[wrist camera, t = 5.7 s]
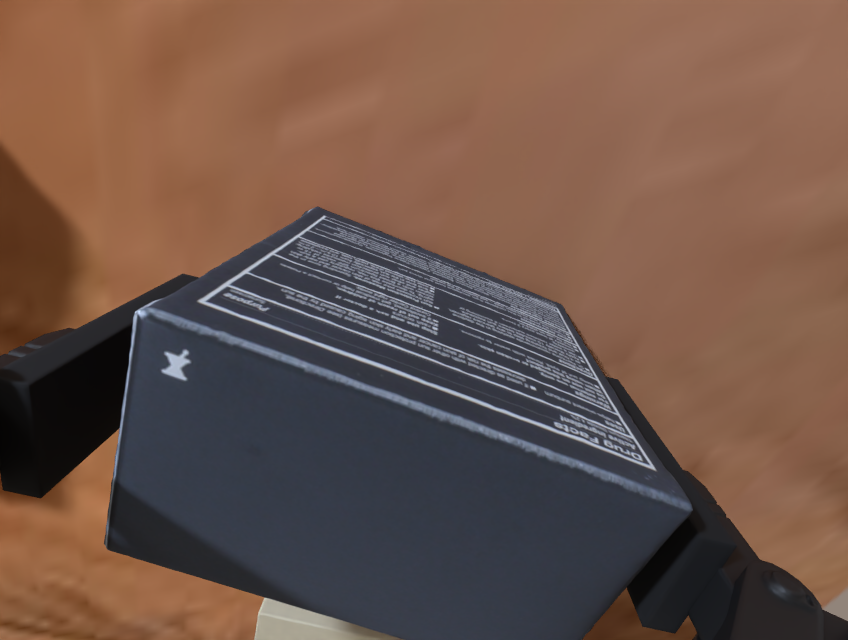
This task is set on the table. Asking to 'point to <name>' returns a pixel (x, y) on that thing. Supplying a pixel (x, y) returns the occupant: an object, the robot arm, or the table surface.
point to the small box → (383, 443)
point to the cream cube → (307, 625)
